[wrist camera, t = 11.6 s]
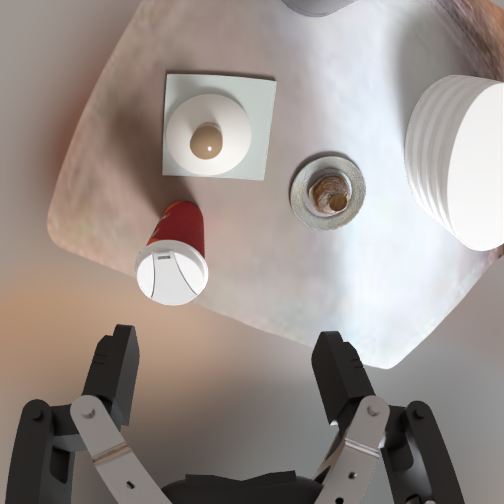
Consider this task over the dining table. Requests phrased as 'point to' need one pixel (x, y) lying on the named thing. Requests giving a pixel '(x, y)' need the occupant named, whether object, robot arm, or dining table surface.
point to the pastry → (328, 194)
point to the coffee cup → (174, 257)
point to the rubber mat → (246, 96)
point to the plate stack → (460, 158)
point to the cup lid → (208, 134)
